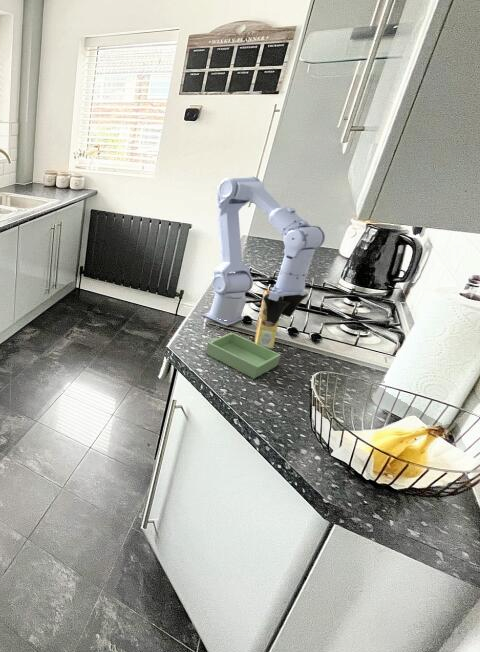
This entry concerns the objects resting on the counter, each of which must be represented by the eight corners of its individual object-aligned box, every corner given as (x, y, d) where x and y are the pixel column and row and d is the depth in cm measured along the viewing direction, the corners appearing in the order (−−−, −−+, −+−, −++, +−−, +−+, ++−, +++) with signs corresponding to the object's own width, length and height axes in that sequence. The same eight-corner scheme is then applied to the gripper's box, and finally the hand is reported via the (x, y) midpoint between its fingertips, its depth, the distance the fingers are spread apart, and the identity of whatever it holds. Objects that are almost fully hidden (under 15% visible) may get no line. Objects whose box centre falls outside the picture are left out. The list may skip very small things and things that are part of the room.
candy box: (273, 349, 114) (285, 294, 112) (254, 346, 116) (266, 291, 114) (270, 343, 121) (281, 291, 119) (252, 340, 123) (263, 289, 121)
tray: (228, 342, 122) (231, 332, 121) (277, 365, 112) (281, 354, 110) (204, 353, 117) (208, 342, 116) (253, 378, 107) (258, 367, 105)
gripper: (296, 282, 103) (281, 331, 109) (324, 271, 110) (308, 318, 115) (266, 273, 109) (252, 320, 114) (294, 263, 116) (280, 308, 121)
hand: (278, 318), depth 115 cm, fingers open, 7 cm apart
